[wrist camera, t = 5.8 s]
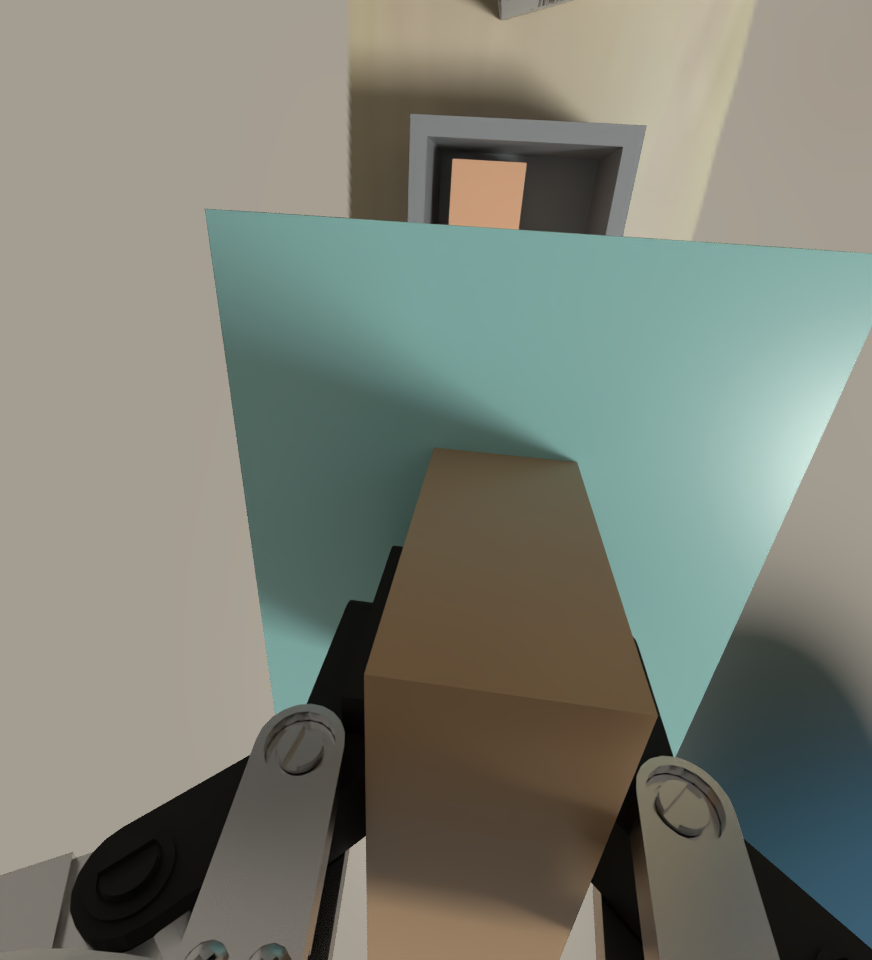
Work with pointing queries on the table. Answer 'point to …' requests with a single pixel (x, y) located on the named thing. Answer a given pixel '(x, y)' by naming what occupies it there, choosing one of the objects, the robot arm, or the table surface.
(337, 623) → the lid
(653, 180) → the table surface
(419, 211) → the box
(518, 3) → the coffee box
